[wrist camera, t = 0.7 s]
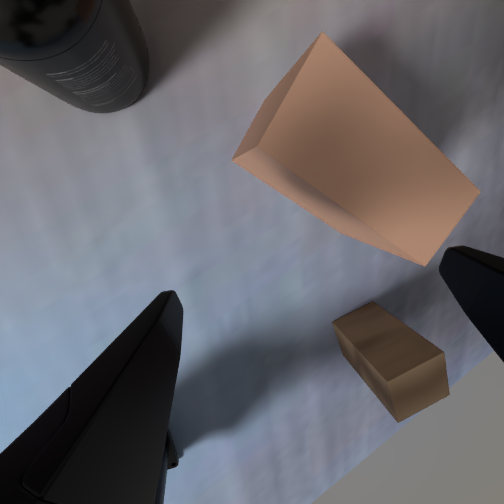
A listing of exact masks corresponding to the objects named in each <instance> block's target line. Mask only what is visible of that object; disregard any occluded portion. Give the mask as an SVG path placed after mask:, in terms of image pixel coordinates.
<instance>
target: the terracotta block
mask: <svg viewBox="0 0 504 504" xmlns="http://www.w3.org/2000/svg"><path fill="white" fill-rule="evenodd" d="M232 161H233V162H235V163H236V164H238V165H239V166H241V167H242V168H244V169H245V170H247V171H248V172H250V173H251V174H253V175H254V176H256V177H257V178H259V179H260V180H262V181H263V182H265V183H266V184H268V185H269V186H271V187H272V188H274V189H275V190H277V191H278V192H280V193H281V194H283V195H284V196H286V197H287V198H289V199H290V200H292V201H293V202H295V203H296V204H298V205H299V206H301V207H302V208H304V209H305V210H307V211H308V212H310V213H311V214H313V215H314V216H316V217H317V218H319V219H320V220H322V221H323V222H325V223H326V224H328V225H329V226H331V227H332V228H334V229H335V230H337V231H338V232H340V233H341V234H344V235H346V236H349V237H352V238H354V239H357V240H359V241H362V242H364V243H367V244H369V245H372V246H374V247H377V248H379V249H382V250H385V251H387V252H390V253H392V254H395V255H397V256H400V257H402V258H405V259H407V260H410V261H412V262H415V263H418V264H420V265H423V266H426V265H427V264H428V262H429V261H430V259H431V258H432V257H433V255H434V254H435V253H436V251H437V250H438V249H439V247H440V246H441V245H442V243H443V242H444V241H445V239H446V238H447V237H448V235H449V234H450V233H451V231H452V230H453V229H454V227H455V226H456V225H457V223H458V222H459V221H460V219H461V218H462V216H463V215H464V214H465V212H466V211H467V210H468V208H469V207H470V206H471V204H472V203H473V202H474V200H475V199H476V198H477V196H478V195H479V194H480V192H481V191H480V190H479V189H478V188H477V187H476V186H475V185H474V184H473V183H472V182H471V181H470V180H469V179H468V178H467V177H466V176H465V175H464V174H463V173H462V172H461V171H460V170H459V169H458V168H457V167H456V166H455V165H454V164H453V163H452V162H451V161H450V160H449V159H448V158H447V157H446V156H445V155H444V154H443V153H442V152H441V151H440V150H439V149H438V148H437V147H436V146H435V145H434V144H433V143H432V142H431V141H430V140H429V139H428V138H427V137H426V136H425V135H424V134H423V133H422V132H421V131H420V130H419V129H418V128H417V127H416V126H415V125H414V124H413V122H412V121H411V120H410V119H409V118H408V117H407V116H406V115H405V114H404V113H403V112H402V111H401V110H400V109H399V108H398V107H397V106H396V105H395V104H394V103H393V102H392V101H391V100H390V99H389V98H388V97H387V96H386V95H385V94H384V93H383V92H382V91H381V90H380V89H379V88H378V87H377V86H376V85H375V84H374V83H373V82H372V81H371V80H370V79H369V78H368V77H367V76H366V75H365V74H364V73H363V72H362V71H361V70H360V69H359V68H358V67H357V66H356V65H355V64H354V63H353V62H352V61H351V60H350V59H349V58H348V57H347V56H346V55H345V54H344V53H343V52H342V51H341V50H340V49H339V48H338V47H337V46H336V45H335V44H334V42H333V41H332V40H331V39H330V38H329V37H328V36H327V35H326V34H325V33H324V32H323V31H322V33H321V34H320V35H319V36H318V37H317V38H316V40H315V41H314V42H313V43H312V44H311V46H310V47H309V48H308V49H307V50H306V52H305V53H304V54H303V55H302V56H301V57H300V59H299V60H298V61H297V62H296V63H295V65H294V66H293V67H292V68H291V69H290V71H289V72H288V73H287V74H286V75H285V77H284V78H283V79H282V80H281V81H280V82H279V84H278V85H277V86H276V87H275V88H274V90H273V91H272V92H271V93H270V94H269V96H268V97H267V98H266V99H265V101H264V102H263V104H262V106H261V108H260V110H259V111H258V113H257V115H256V117H255V119H254V120H253V122H252V124H251V126H250V128H249V129H248V131H247V133H246V135H245V137H244V138H243V140H242V142H241V144H240V146H239V147H238V149H237V151H236V153H235V155H234V156H233V158H232Z"/></svg>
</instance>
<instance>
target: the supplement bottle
mask: <svg viewBox="0 0 504 504" xmlns="http://www.w3.org/2000/svg"><path fill="white" fill-rule="evenodd" d="M0 65H1V66H3V67H5V68H6V69H8V70H10V71H12V72H13V73H15V74H17V75H19V76H20V77H22V78H24V79H26V80H27V81H29V82H31V83H33V84H35V85H36V86H38V87H40V88H42V89H43V90H45V91H47V92H49V93H50V94H52V95H54V96H56V97H57V98H59V99H61V100H63V101H65V102H67V103H68V104H70V105H72V106H75V107H77V108H79V109H82V110H85V111H89V112H94V113H112V112H116V111H119V110H122V109H124V108H126V107H128V106H129V105H131V104H132V103H133V102H134V101H135V100H136V99H137V98H138V97H139V95H140V94H141V92H142V91H143V89H144V86H145V84H146V81H147V77H148V71H149V56H148V50H147V46H146V42H145V38H144V35H143V33H142V30H141V27H140V25H139V22H138V20H137V17H136V15H135V13H134V10H133V8H132V5H131V3H130V0H0Z"/></svg>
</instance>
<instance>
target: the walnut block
mask: <svg viewBox="0 0 504 504" xmlns="http://www.w3.org/2000/svg"><path fill="white" fill-rule="evenodd" d="M332 324H333V327H334V329H335V332H336V335H337V338H338V341H339V344H340V347H341V350H342V353H343V356H344V357H345V358H346V359H347V361H348V362H349V363H350V364H351V366H352V367H353V368H354V369H355V370H356V372H357V373H358V374H359V375H360V377H361V378H362V379H363V380H364V382H365V383H366V384H367V385H368V387H369V388H370V389H371V390H372V391H373V393H374V394H375V395H376V396H377V398H378V399H379V400H380V401H381V403H382V404H383V405H384V406H385V408H386V409H387V410H388V411H389V412H390V414H391V415H392V416H393V417H394V419H395V420H396V421H397V422H398V423H399V422H401V421H402V420H404V419H406V418H408V417H410V416H412V415H413V414H415V413H417V412H419V411H421V410H423V409H425V408H426V407H428V406H430V405H432V404H434V403H435V402H437V401H439V400H441V399H443V398H445V397H447V396H448V395H450V394H449V386H448V378H447V370H446V362H445V354H444V352H443V351H442V350H441V349H439V348H438V347H436V346H435V345H434V344H432V343H431V342H429V341H428V340H426V339H425V338H424V337H422V336H421V335H419V334H418V333H417V332H415V331H414V330H412V329H411V328H410V327H408V326H407V325H405V324H404V323H403V322H401V321H400V320H398V319H397V318H396V317H394V316H393V315H391V314H390V313H389V312H387V311H386V310H384V309H383V308H382V307H380V306H379V305H377V304H376V303H375V302H371V303H369V304H367V305H365V306H363V307H361V308H359V309H357V310H355V311H353V312H351V313H349V314H347V315H345V316H343V317H341V318H339V319H337V320H335V321H333V322H332Z"/></svg>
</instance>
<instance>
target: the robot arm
mask: <svg viewBox="0 0 504 504" xmlns="http://www.w3.org/2000/svg"><path fill="white" fill-rule="evenodd" d="M439 272H440V275H441V276H442V278H443V279H444V281H445V283H446V284H447V286H448V287H449V289H450V290H451V292H452V294H453V295H454V297H455V298H456V300H457V301H458V303H459V305H460V306H461V308H462V309H463V311H464V312H465V314H466V315H467V316H468V318H469V319H470V320H471V322H472V323H473V324H474V325H475V327H476V328H477V329H478V331H479V332H480V333H481V334H482V336H483V337H484V338H485V339H486V341H487V342H488V343H489V344H490V346H491V347H492V348H493V350H494V351H495V352H496V353H497V355H498V356H499V357H500V358H501V360H502V361H503V362H504V258H502V257H499V256H496V255H492V254H489V253H486V252H483V251H479V250H476V249H473V248H470V247H467V246H454V247H449V248H447V249H446V251H445V253H444V255H443V258H442V260H441V263H440V266H439ZM182 326H183V307H182V304H181V302H180V300H179V298H178V296H177V294H176V292H175V291H174V290H170V291H163V292H161V293H160V294H159V295H158V296H157V297H156V298H155V299H154V300H153V301H152V302H151V303H150V304H149V305H148V306H147V307H146V308H145V309H144V310H143V311H142V312H141V313H140V314H139V315H138V316H137V317H136V319H135V320H134V321H133V322H132V323H131V324H130V325H129V326H128V327H127V328H126V329H125V330H124V331H123V332H122V333H121V334H120V335H119V336H118V337H117V338H116V339H115V340H114V341H113V342H112V343H111V344H110V345H109V346H108V347H107V348H106V349H105V350H104V351H103V352H102V353H101V354H100V355H99V356H98V357H97V359H96V360H95V361H94V362H93V363H92V364H91V365H90V366H89V367H88V368H87V369H86V370H85V371H84V372H83V373H82V374H81V375H80V376H79V377H78V378H77V379H76V380H75V381H74V382H73V383H72V384H71V387H68V388H67V389H66V390H65V391H64V392H63V393H62V394H61V395H60V396H59V397H58V398H57V399H56V400H55V401H54V402H53V403H52V404H51V405H50V406H49V407H48V408H47V409H46V410H45V411H44V412H43V413H42V414H41V415H40V416H39V417H38V418H37V419H36V420H35V421H34V422H33V423H32V424H31V425H30V426H29V427H28V428H27V429H26V430H25V431H24V432H23V433H22V434H21V435H20V436H19V437H17V438H16V439H15V440H14V441H13V442H12V443H11V444H10V445H9V446H8V447H7V448H6V449H5V450H4V451H3V452H1V453H0V504H163V503H164V494H165V485H166V476H167V470H168V469H171V468H175V467H177V466H178V462H179V459H178V456H177V453H176V450H175V447H174V444H173V441H172V438H171V435H170V432H169V429H168V423H169V418H170V412H171V407H172V401H173V395H174V390H175V384H176V378H177V373H178V367H179V361H180V355H181V342H182Z"/></svg>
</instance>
